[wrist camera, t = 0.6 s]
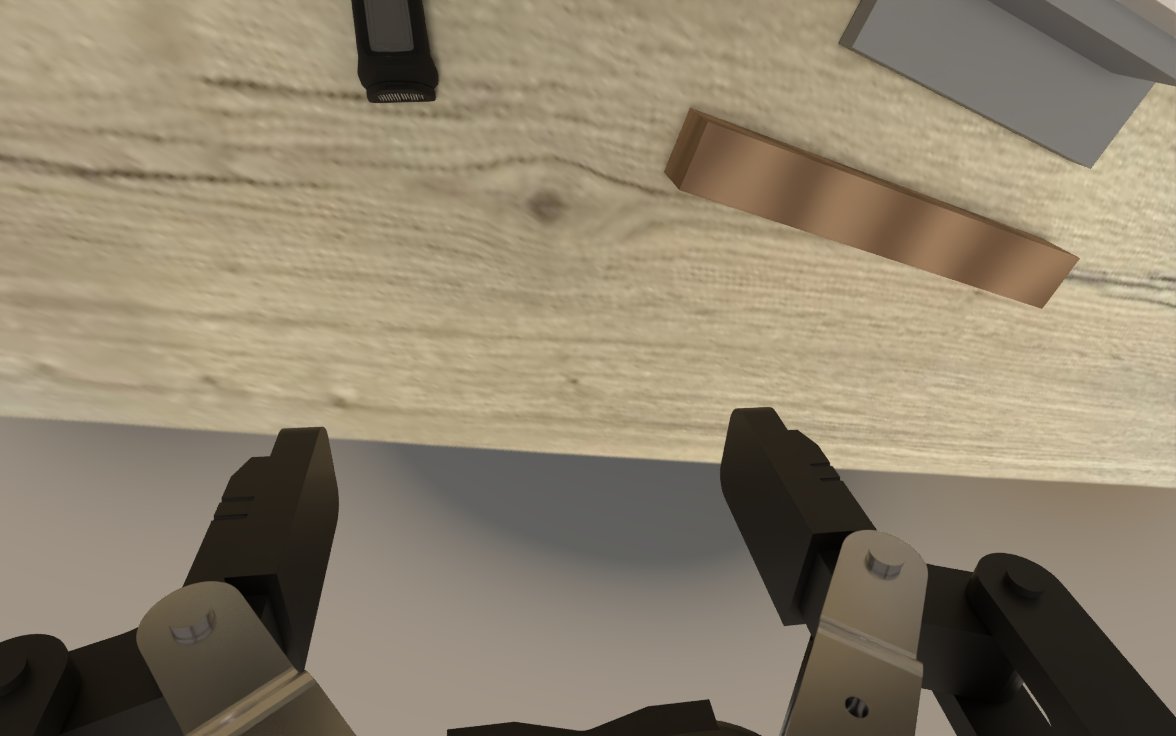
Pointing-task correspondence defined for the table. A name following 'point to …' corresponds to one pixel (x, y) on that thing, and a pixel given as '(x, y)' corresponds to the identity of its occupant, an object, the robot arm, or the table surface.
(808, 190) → the walnut bar
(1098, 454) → the table surface
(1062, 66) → the stand
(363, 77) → the electric trimmer
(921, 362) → the table surface
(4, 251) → the table surface
